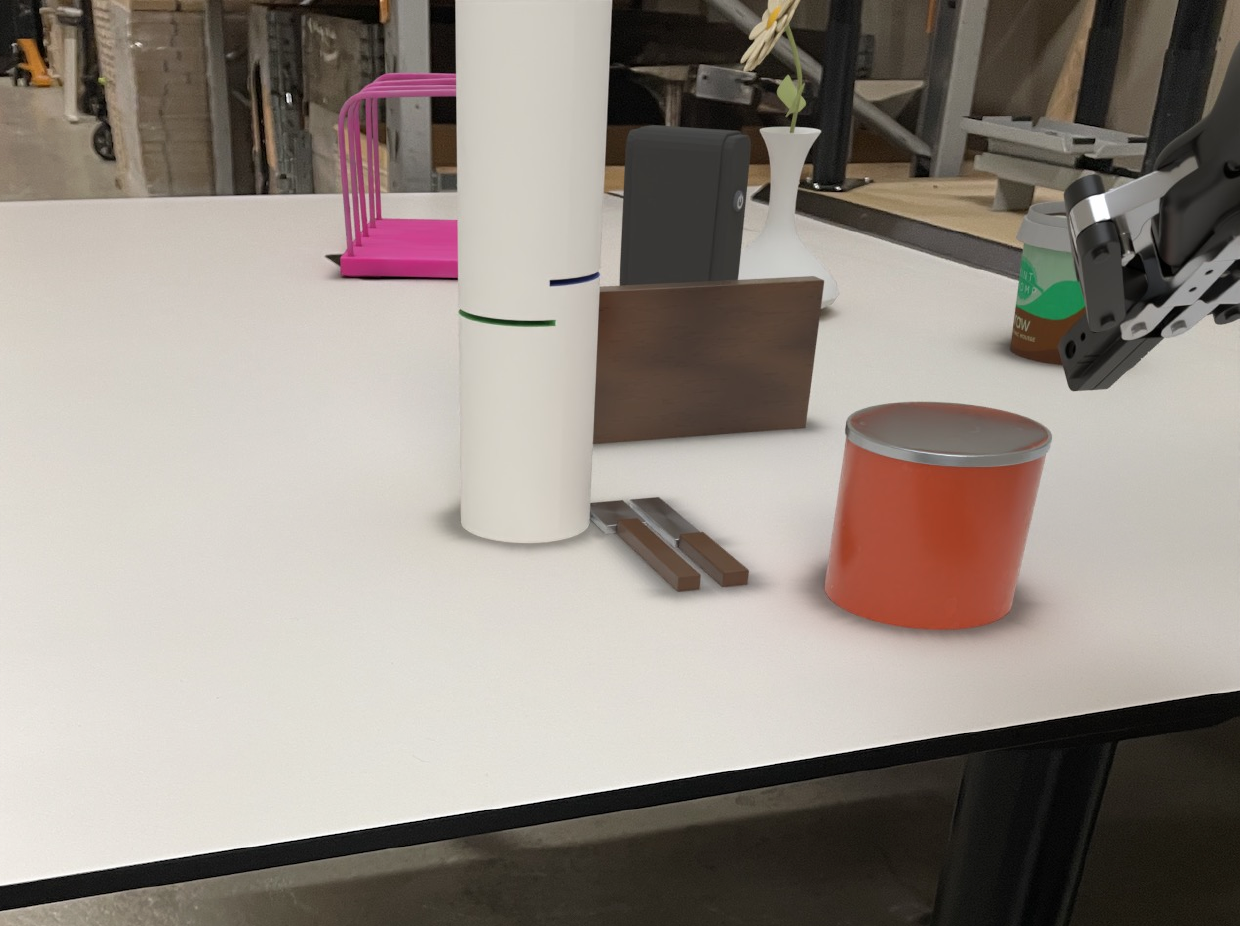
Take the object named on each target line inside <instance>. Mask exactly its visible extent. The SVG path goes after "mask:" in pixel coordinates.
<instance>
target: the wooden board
mask: <svg viewBox="0 0 1240 926" xmlns="http://www.w3.org/2000/svg"><path fill="white" fill-rule="evenodd" d="M823 288H824V280H822V279H820V278H817V277H815V276H805V277H785V278H764V279H744V280H724V281H703V282H683V283H663V284H643V285H622V286H619V285H607V286H606V285H605V286H602V285H601V286H600V292H599V315H598V337H597V360H596V383H595V406H594V429H593V445H599V444H612V443H625V442H638V441H652V440H664V439H665V440H666V439H679V438H692V437H705V436H719V435H732V434H744V433H757V432H758V433H759V432H771V431H783V430H785V431H786V430H797V429H806V428H807V419H808V414H809V413H808V412H809V403H810V397H811V387H812V380H813V374H814V367H815V366H814V364H815V357H816V351H817V343H818V342H817V341H818V335H819V327H820V318H821V311H822V309H821V304H822V296H823Z"/></svg>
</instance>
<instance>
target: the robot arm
mask: <svg viewBox="0 0 1240 926" xmlns="http://www.w3.org/2000/svg"><path fill="white" fill-rule="evenodd" d="M1104 184H1105V183H1104V180H1103V177H1102V176H1101V175H1100V174H1088V175H1084V176H1082V177H1080V178H1078V179H1076V180H1075V181H1073V182H1071V183H1070V184H1069V185H1068V186H1067V187H1066V188H1065V190H1064V192H1063V201H1064V202H1065V209H1066V216H1067V223H1068V231H1069V238H1070V245H1071V252H1072V259H1073V266H1074V271H1075V275H1076V278H1077V281H1078V282H1079V284H1080V287H1081V291H1082V295H1083V299H1084V302H1085V307H1086V313H1085V314H1084V315H1083V316H1082V317H1081V318H1080V319H1079V320H1078V321H1077V323H1075V324H1074V325H1073V326H1072V327H1071V328H1070V330H1068V331H1067V332H1066V334H1065V335H1064V336H1063V337H1062V338H1061V339H1060V342H1059V344H1058V349H1059V353H1060V357H1061V361H1062V365H1061V366H1062V369H1063V372H1064V376H1065V379H1066V383H1067V388H1068V389H1069V390H1070V391H1072V392H1083V391H1084V392H1085V391H1102V390H1108V389H1110V388H1111V387H1112V386H1113V385H1114V384H1115V383H1116V382H1117V381H1118V380H1119V379H1121V377H1123V376H1124V375H1125V374H1126V373H1127V372H1128V371H1131V370H1132V369H1133V368H1134V367H1135V366H1136V365H1137V364H1138V363H1139V362H1140V361H1142V359H1144V358H1145V357H1146V356H1147V355H1148V354H1149V352H1151V351H1152V350H1153V349H1154V348H1155V347H1156V346H1157V345H1159V344H1160V343H1161V342H1162V341H1163V340H1164V339H1170V338H1171V339H1172V338H1174V337H1175V338H1176V337H1178V336H1180V335H1183V334H1185V333H1186V332H1188V331H1190V330H1191V329H1193V327H1195V326H1196V325H1197V324H1198V323H1199V322H1201V321H1202V320H1203V319H1204V318H1205V317H1206V316H1207V317H1208V316H1211V315H1212V317H1213V322H1214V324H1215V325H1218V326H1219V325H1220V326H1221V325H1227V324H1231V323H1233V322H1235V321H1237V320H1240V40H1238V42H1237V44H1236V46H1235V48H1234V49H1233V52H1232V54H1231V56H1230V60H1229V62H1228V65H1227V67H1226V71H1225V74H1224V76H1223V81H1222V83H1221V86H1220V88H1219V91H1218V94H1217V96H1216V99H1215V102H1214V103H1213V106H1212V108H1211V109H1210V111H1209V113H1207V114H1206V115H1205V116H1204V117H1202V118H1201V120H1200V121H1198V122H1197V123H1195V124H1194V125H1193V126H1191V127H1190V128H1189V129H1187V130H1186V131H1185V132H1183V133H1182V134H1180V135H1179V136H1177V137H1175V138H1174V139H1173V140H1171V141H1170V142H1169V143H1168V144H1167V145H1166V146H1165V147H1164V148H1163V149H1162V150H1161V152H1160V153H1159V154H1158V155H1157V158H1156V160H1155V162H1154V165H1153V168H1152V171H1151V172H1149V173H1147V174H1145V175H1143V176H1140V177H1138V178H1136V179H1133V180H1131V181H1129V182H1126V183H1124V184H1122V185H1119V186H1117V187H1114V188H1113V187H1112V188H1109V189H1108V190H1106V187H1105V185H1104Z"/></svg>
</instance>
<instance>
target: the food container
mask: <svg viewBox="0 0 1240 926" xmlns="http://www.w3.org/2000/svg"><path fill="white" fill-rule="evenodd" d="M1015 239H1016V240H1017V241H1018V242H1020V243H1022V244H1023V245H1022V254H1021V260H1020V269H1019V277H1018V283H1017V284H1018V285H1017V293H1016V300H1015V308H1014V315H1013V323H1012V329H1011V330H1012V331H1011V339H1010V345H1009V351H1010V352H1011V353H1012V354H1013V355H1014V356H1017V357H1019V358H1022V359H1026V360H1028V361H1029V360H1030V361H1032V362H1038V363H1042V364H1049V365H1055V366H1063V365H1062V361H1061V357H1060V353H1059V349H1058V344H1059V342H1060V339H1061V338H1062V337H1063V336H1064V335H1065V334H1066V332H1067V331H1068V330H1070V328H1071V327H1072V326H1073V325H1074V324H1075V323H1077V321H1078V320H1079V319H1080V318H1081V317H1082V316H1083V315H1084V314H1085V313H1086V307H1085V302H1084V299H1083V295H1082V291H1081V287H1080V284H1079V282H1078V281H1077V278H1076V275H1075V271H1074V266H1073V259H1072V252H1071V245H1070V238H1069V231H1068V223H1067V216H1066V209H1065V202H1064V200H1055V201H1045V202H1039V203H1034V204H1032V205H1030V206H1029V208H1028V212H1027V214H1025V215H1024V216H1023V218H1022V221H1021V223H1020V225H1019V228H1018V231H1017V233H1016V236H1015Z"/></svg>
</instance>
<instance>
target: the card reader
mask: <svg viewBox="0 0 1240 926" xmlns="http://www.w3.org/2000/svg"><path fill="white" fill-rule="evenodd" d="M625 142H626V143H625V152H624V153H625V154H624V175H623V195H622V196H623V197H622V216H621V217H622V218H621V237H620V255H619V256H620V258H619V284H618V286H622V285H643V284H663V283H683V282H703V281H724V280H738V275H739V266H740V256H741V251H742V247H743V246H742V244H743V234H744V225H745V213H746V204H747V195H748V185H749V184H748V183H749V173H750V162H751V153H752V152H751V150H752V144H751V138H750V136H749V135H748V134H742V132H741V131H739V130H730V129H715V128H703V127H700V128H699V127H687V126H674V125H673V126H672V125H657V124H650V125H644V126H640V127H639V128H634V129H631V130H629V132H628V134H627V137H626V141H625Z"/></svg>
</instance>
